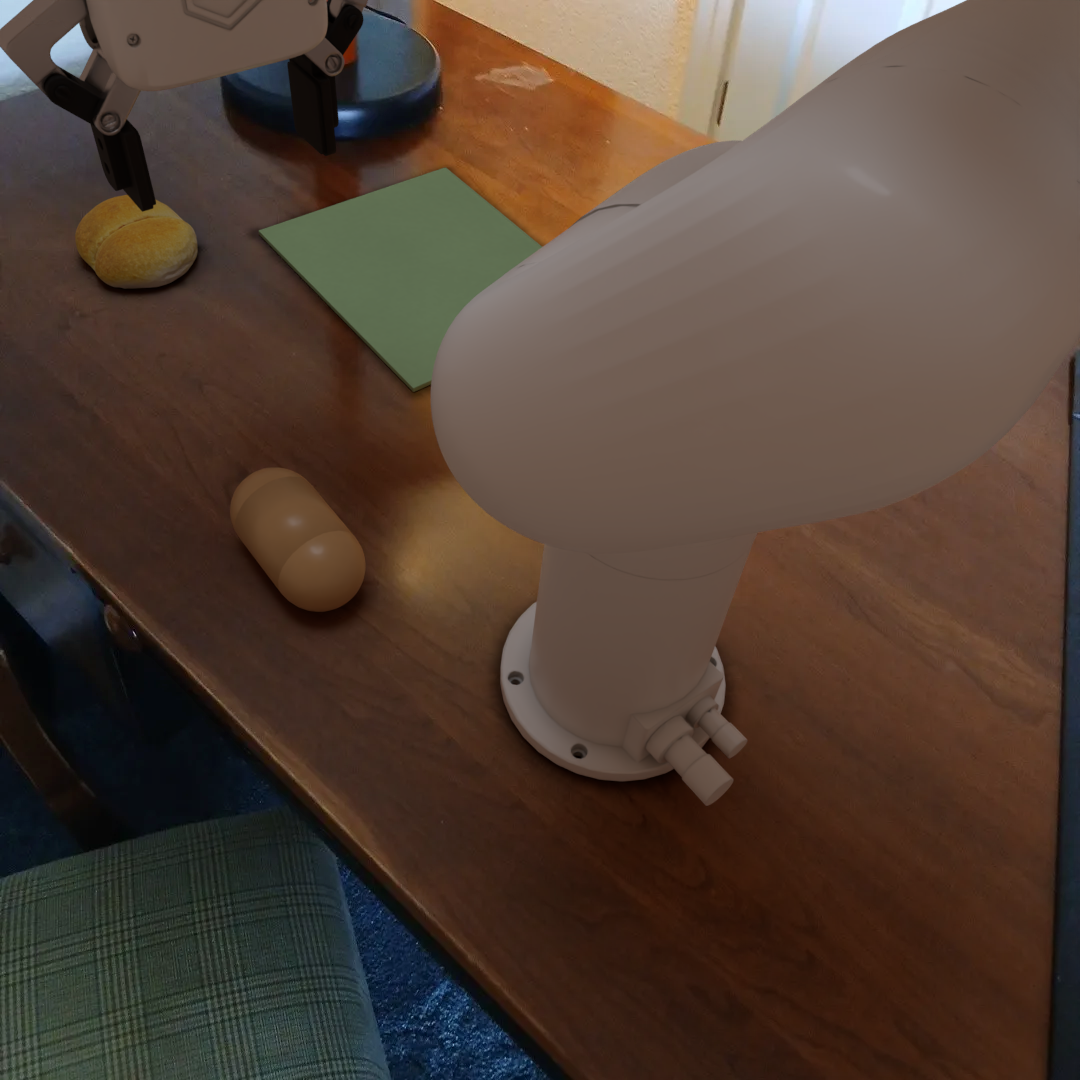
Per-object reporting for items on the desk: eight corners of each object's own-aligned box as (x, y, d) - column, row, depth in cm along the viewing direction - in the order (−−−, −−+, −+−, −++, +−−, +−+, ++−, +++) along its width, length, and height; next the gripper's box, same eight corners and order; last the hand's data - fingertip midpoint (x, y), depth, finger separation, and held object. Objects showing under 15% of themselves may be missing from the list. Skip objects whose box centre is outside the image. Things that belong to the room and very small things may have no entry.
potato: (384, 602, 61) (381, 546, 57) (306, 644, 59) (297, 589, 55) (296, 495, 66) (288, 436, 62) (221, 530, 64) (207, 472, 60)
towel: (608, 305, 81) (609, 301, 81) (413, 392, 73) (413, 388, 73) (445, 171, 91) (445, 166, 91) (258, 234, 83) (258, 230, 83)
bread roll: (121, 308, 76) (107, 262, 73) (66, 247, 80) (51, 201, 77) (222, 268, 80) (214, 223, 77) (165, 213, 84) (155, 167, 81)
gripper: (-50, -188, 34) (89, 261, 47) (406, -245, 41) (417, 157, 54) (-118, -251, 37) (29, 182, 51) (312, -292, 45) (343, 94, 58)
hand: (230, 168), depth 52 cm, fingers open, 9 cm apart
